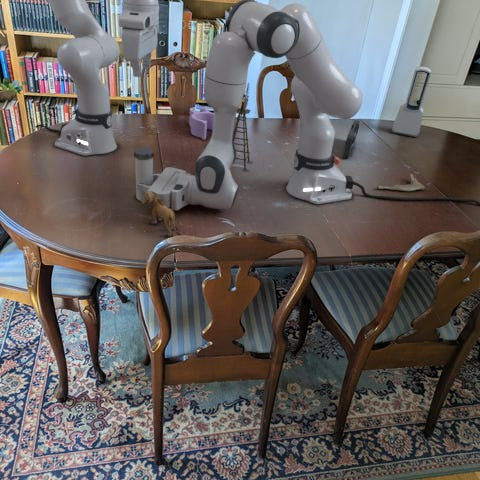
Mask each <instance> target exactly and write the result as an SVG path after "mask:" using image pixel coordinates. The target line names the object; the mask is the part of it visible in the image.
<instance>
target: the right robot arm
mask: <svg viewBox="0 0 480 480" xmlns="http://www.w3.org/2000/svg"><path fill="white" fill-rule="evenodd" d="M223 29H224V31H222V32H219V33H218V34H216V35H215V36H214V38H213V39H212V42H211V45H210V47H209V51H208V55H207V59H206V65H205V71H204V79H203V97H204V101H205V102H206V104H207V105H208V106H209V107H210V108H211V109H212V110H213V113H214V122H213V130H211V131H212V134H211V137H210V139H209V140H208V142H207V143H206V145H205V147H204V149H203V151H202V152H201V154H200V155H199V156H198V158H197V160H196V161H195V164H194V175H192V174H191V173H188V172H187V170H184V169H180V168H176V167H172V166H167V167H165V168H164V170H162V172H160V173H153V184H152V185H151V186H150V185H148V186H146V185H144V183H139V184H138V185H137V189H138V190H143V191H144V192H145V193H146V191H153V192H155V193H156V194H157V195H159V197H160V198H161V199H162V201H163V204H164V205H165V206H166V207H168V208H169V209H172V210H173V211H179V210H181V209H182V208H184V207H186V206H188V205H191V206H196V205H197V206H202V207H204V208H208V209H215V210H230V209H231V208H233V207H234V205H235V202H236V200H237V197H238V195H239V191H240V189H239V185H238V184H237V183H236V181H235V180H234V178H233V175H232V172H231V168H232V166H233V165H234V164H235V162H236V160H237V159H236V158H237V151H236V150H237V149H236V146H235V144H234V143H235V141H234V142H233V138H234V137H233V132H234V129H235V124H236V119H237V114H238V113H237V110H238V108H240V107H241V105H242V102H243V99H244V98H243V95H244V94H245V93H246V92H245V91H246V88H247V83H248V82H247V81H248V75H249V67H250V63H251V61H252V59H253V58H254V56H255V55H256V52H257V53H259V54H261V55H262V56H265V57H266V58H271V59H280V58H283V57H285V59H286V61H287V62H288V64H289V67H290V69H291V70H292V72H293V74H294V76H293V78H292V80H291V82H290V92H291V95H292V97H293V98H294V101H295V103H296V105H297V111H298V115H299V123H300V126H299V127H300V128H299V138H298V144H297V148H296V150H295V152H294V153H295V154H294V158H293V167H292V171H291V176H290V178H289V181H288V183H287V185H286V187H285V189H286V192H287V193H288V194H289V195H290V196H292V197H294V198H297V199H299V200H302V201H307V202H309V203H311V204H314V205H321V204H327V203H333V202H340V201H347V200H351V199H352V195H353V193H352V191H351V190H353V188H354V185H355V186H357V187H358V188H359V189H361V193H362V194H363V195H364V196H365V197H366V198H370V199H377V200H390V201H391V200H392V201H453V202H455V201H456V202H463V203H475V204H476V205H478V206H479V207H480V201H479V200H477V199H474V198H458V197H444V196H431V197H429V196H426V197H402V196H401V197H399V196H398V197H397V196H387V195H373V194H369V193H367V192H366V189H365V187H364V186H363V185H362V184H360V183H358V182H356V181H354V179H353V177H352V176H351V175H345V174H344V173H343V172H342V171H341V170H340V169H339V168H338V165H340V164H341V163H342V162H341V158H339V157H338V156H336V155H334V153H332V151H333V148H334V147H333V146H334V142H335V138H336V129H335V127H334V126H333V124H332V122H331V121H330V117H331V118H334V119H338V120H339V119H340V120H350V119H352V118H353V117H355V116H356V115H357V114H358V112H359V111H360V110H361V108H362V105H363V99H364V98H363V92H362V90H361V89H360V87H358V86H356V84H354V82H352V80H350V79H349V78H348V76H347V75H346V74H345V72H344V71H343V70H342V68H340V66H339V64H337V62H336V60H334V58H333V57H332V55H331V54H330V51H329V49H328V47H327V45H326V41H325V40H324V37H323V35H322V33H321V30H320V28H319V25H318V24H317V22H316V21H315V19H314V17H313V16H312V14H311V12H310V11H309V10H308V9H307V7H306V6H304V5H303V4H301V3H296V2H295V3H290V4H287V5H285V6H283V8H281V9H280V10H279V9H277V8H276V7H274V6H271V5H270V4H265V3H261V2H258V1H257V0H239V1H238V2H236V3H235V4H234V5H233V6H232V8H231V9H230V11H229V13H228V16H227V18H226V22H225V24H224V27H223Z"/></svg>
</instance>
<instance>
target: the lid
mask: <svg viewBox="0 0 480 480" xmlns="http://www.w3.org/2000/svg"><path fill="white" fill-rule="evenodd" d="M154 156H155V150H154V149H153V148H151V147H148V146H139V147H136V148H134V150H133V157H134V159H135V158H137V159H141V160H147V159H151V158H153V159H154Z"/></svg>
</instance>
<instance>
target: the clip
mask: <svg viewBox="0 0 480 480" xmlns="http://www.w3.org/2000/svg"><path fill="white" fill-rule="evenodd" d="M188 119H189V120H188V121H189V122H188V125H189V127H190V134H191V135H193V136H195V137H197V138H201V140H206V139H207V130H211V131H213V122H214V112H211V111H210V109H209V108H206V107H203V106H200V107H199V111H196V108H195V107H190V108H189V118H188Z"/></svg>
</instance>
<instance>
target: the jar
mask: <svg viewBox="0 0 480 480" xmlns="http://www.w3.org/2000/svg"><path fill="white" fill-rule="evenodd" d="M134 160H135V161H134V163H135V168H134V169H135V193H136V194H135V195H136V196H135V197H136V200H138V201H140V202H142V201H141V199H143V198H144V196H145V195H146V193H145V192H144V191H143V190H138V189H137V185H138V184H139V183H144V185H146V186H148V185H150V186H151V185H152V184H153V183H154V181H153V174H154V157H153V158H151V159H147V160H141V159H137V158H135V157H134Z"/></svg>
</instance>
